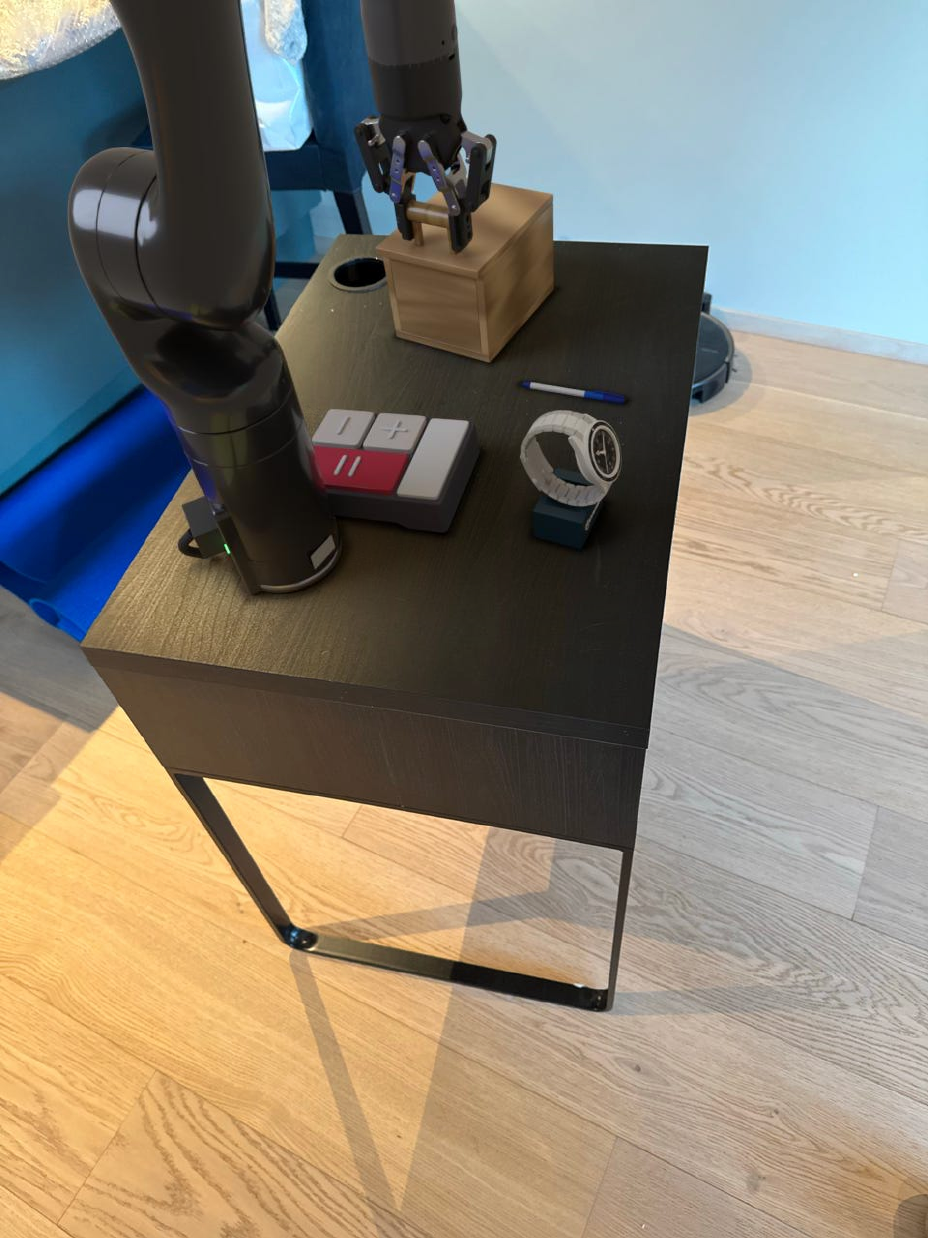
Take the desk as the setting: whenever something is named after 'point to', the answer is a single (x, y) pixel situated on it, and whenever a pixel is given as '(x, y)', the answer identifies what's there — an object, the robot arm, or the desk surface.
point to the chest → (474, 296)
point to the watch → (571, 476)
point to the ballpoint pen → (578, 392)
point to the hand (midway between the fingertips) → (436, 241)
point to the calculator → (395, 466)
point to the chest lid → (490, 225)
